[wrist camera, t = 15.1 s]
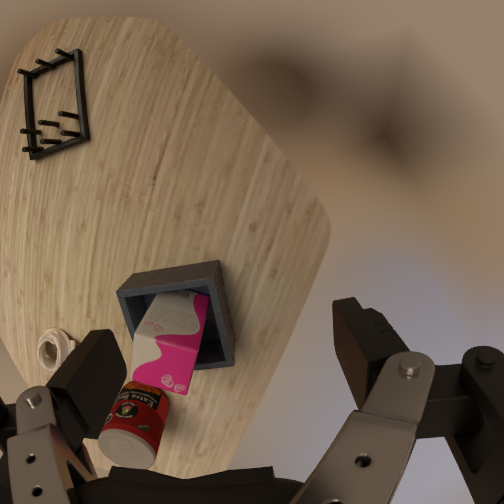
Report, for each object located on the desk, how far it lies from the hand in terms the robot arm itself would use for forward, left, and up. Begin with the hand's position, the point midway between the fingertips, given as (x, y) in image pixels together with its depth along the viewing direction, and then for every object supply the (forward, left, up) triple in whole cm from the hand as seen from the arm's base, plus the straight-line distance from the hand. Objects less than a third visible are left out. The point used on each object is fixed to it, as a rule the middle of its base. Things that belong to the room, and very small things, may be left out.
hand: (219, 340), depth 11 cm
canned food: (+24, -18, -25) cm, 39 cm away
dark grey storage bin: (+10, -8, -25) cm, 28 cm away
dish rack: (-18, -20, -25) cm, 37 cm away
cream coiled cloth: (+14, -29, -25) cm, 41 cm away
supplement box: (+9, -8, -24) cm, 27 cm away
